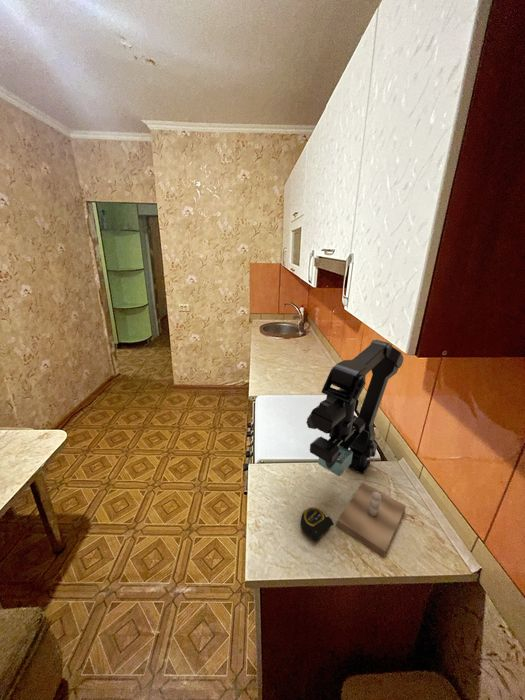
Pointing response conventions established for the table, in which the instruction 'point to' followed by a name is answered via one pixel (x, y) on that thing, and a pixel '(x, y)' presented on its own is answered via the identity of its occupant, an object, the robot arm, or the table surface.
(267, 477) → the table surface
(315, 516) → the tape measure
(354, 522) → the post board
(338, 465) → the collar
